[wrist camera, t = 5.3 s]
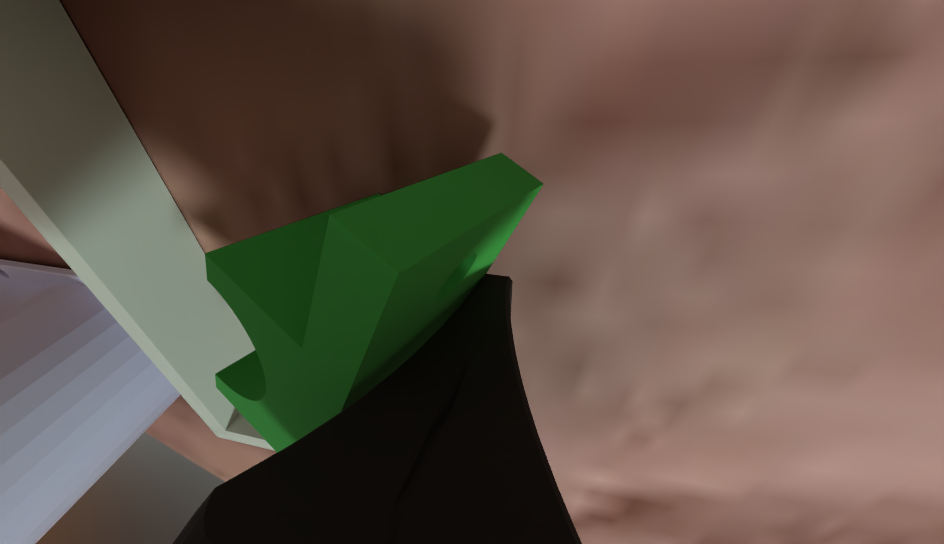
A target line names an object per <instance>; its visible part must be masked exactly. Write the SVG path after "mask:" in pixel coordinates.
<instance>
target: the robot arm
mask: <svg viewBox="0 0 944 544" xmlns="http://www.w3.org/2000/svg"><path fill="white" fill-rule="evenodd" d="M511 299H512V280H511V279H510V277H507V276H499V275H491V274H485V275H484V277H483V278H482V279H481V280H480V281H479V282H478V284H477V285H476V286H475V288H474V289H473V290H472V292H471V293H470V294H469V295H468V297H467V298H466V299H465V300H464V302H463V303H462V304H461V305H460V306H459V308H458V309H457V310H456V311H455V312H454V313H453V314H452V315H451V316H450V318H449V319H448V320H447V321H446V322H445V323H444V324H443V325H442V326H441V327H440V329H439V330H438V331H437V332H436V333H435V334H434V335H433V336H432V337H431V338H430V339H429V340H428V341H427V342H426V343H425V344H424V345H422V346H421V347H420V348H419V349H418V350H417V351H416V352H415V353H414V354H413V355H412V356H411V357H410V358H409V359H408V360H407V361H405V362H404V363H403V364H402V365H401V366H400V367H399V368H397V369H396V370H395V371H394V372H393V373H391V374H390V375H389V376H388V377H387V378H385V379H384V380H383V381H382V382H380V383H379V384H378V385H377V386H375V387H374V388H373V389H371V390H370V391H369V392H367V393H366V394H365V395H363V396H362V397H361V398H360V399H358V400H357V401H356V402H354V403H353V404H351V405H350V406H349V407H347V408H346V409H344V410H343V411H342V412H340V413H339V414H337V415H336V416H334V417H333V418H331V419H330V420H328V421H326V422H325V423H323V424H322V425H320V426H319V427H317V428H316V429H314V430H313V431H311V432H310V433H308V434H307V435H305V436H304V437H302V438H301V439H299V440H297V441H296V442H294V443H293V444H291V445H289V446H288V447H286V448H284V449H283V450H281V451H279V452H278V453H276V454H274V455H272V456H271V457H269V458H267V459H265V460H264V461H262V462H260V463H258V464H257V465H255V466H253V467H251V468H250V469H248V470H246V471H244V472H243V473H241V474H239V475H237V476H236V477H234V478H232V479H230V480H228V481H227V482H225V483H223V484H221V485H219V486H217V487H216V488H215V489H214V490H213V491H212V492H211V494H210V495H209V496H208V497H207V499H206V500H205V501H204V502H203V503H202V505H201V506H200V507H199V508H198V510H197V511H196V512H195V514H194V515H193V516H192V518H191V519H190V520H189V522H188V523H187V525H186V526H185V527H184V529H183V530H182V531H181V533H180V534H179V536H178V537H177V538H176V540H175V541H174V543H173V544H582V543H581V541H580V538H579V536H578V534H577V532H576V529H575V527H574V525H573V523H572V520H571V518H570V515H569V513H568V511H567V508H566V506H565V503H564V501H563V499H562V496H561V494H560V491H559V489H558V487H557V484H556V481H555V479H554V476H553V473H552V471H551V468H550V465H549V463H548V460H547V457H546V455H545V452H544V449H543V446H542V444H541V441H540V438H539V436H538V433H537V430H536V426H535V423H534V420H533V417H532V414H531V411H530V408H529V404H528V401H527V397H526V394H525V390H524V386H523V383H522V379H521V375H520V370H519V366H518V361H517V357H516V352H515V346H514V340H513V334H512V327H511ZM180 395H181V394H180V393H179V392H178V391H177V390H176V388H175V387H174V386H173V385H172V384H171V383H170V382H169V380H168V379H167V378H166V377H165V376H164V375H163V373H162V372H161V371H160V370H159V369H158V368H157V367H156V365H155V364H154V363H153V362H152V361H151V360H150V359H149V357H148V356H147V355H146V354H145V353H144V352H143V350H142V349H141V348H140V347H139V346H138V345H137V344H136V342H135V341H134V340H133V339H132V338H131V337H130V336H129V334H128V333H127V332H126V331H125V330H124V329H123V327H122V326H121V325H120V324H119V323H118V322H117V321H116V319H115V318H114V317H113V316H112V315H111V314H110V312H109V311H108V310H107V309H106V308H105V307H104V306H103V304H102V303H101V302H100V301H99V300H98V299H97V298H96V296H95V295H94V294H93V293H92V292H91V291H90V289H89V288H88V287H87V286H86V285H85V284H84V283H83V281H82V280H81V279H80V278H79V277H78V276H77V275H76V273H75V272H74V271H73V270H71V269H64V268H57V267H50V266H44V265H37V264H30V263H23V262H16V261H9V260H2V259H0V544H36V542H37V541H38V540H39V539H40V538H41V537H42V536H43V535H44V534H45V533H46V532H47V531H48V530H49V529H50V528H51V527H52V526H53V525H54V524H55V523H56V522H57V521H58V520H59V519H60V518H61V517H62V516H63V515H64V514H65V513H66V512H67V511H68V510H69V509H70V508H71V507H72V506H73V505H74V503H76V501H77V500H78V499H79V498H80V497H81V496H82V495H83V494H84V493H85V492H86V491H87V490H88V489H89V488H90V487H91V486H92V485H93V484H94V483H95V482H96V481H97V480H98V479H99V478H100V477H101V476H102V475H103V474H104V473H105V472H106V470H108V469H109V468H110V466H111V465H113V464H114V462H115V461H116V460H117V459H118V458H119V457H120V456H121V455H122V454H123V453H124V452H125V451H126V450H127V449H128V448H129V447H130V446H131V445H132V444H133V443H134V442H135V441H136V440H137V439H138V438H139V437H140V436H141V435H142V434H143V433H144V432H145V431H146V430H147V429H148V428H149V427H150V426H151V425H152V424H153V423H154V421H155V420H156V419H157V418H158V417H159V416H160V415H161V414H162V413H163V412H164V411H165V410H166V409H167V408H168V407H169V406H170V405H171V404H172V403H173V402H174V401H175V400H176V399H177V398H178V397H179V396H180Z"/></svg>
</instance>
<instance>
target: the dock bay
mask: <svg viewBox="0 0 944 544" xmlns="http://www.w3.org/2000/svg"><path fill="white" fill-rule="evenodd" d="M0 187H1V188H2V189H3V190H4V192H5V193H6V194H7V195H8V196H9V197H10V199H11V200H12V201H13V202H14V203H15V204H16V205H17V207H18V208H19V209H20V210H21V211H22V212H23V214H24V215H25V216H26V217H27V218H28V219H29V220H30V222H31V223H32V224H33V225H34V226H35V227H36V228H37V230H38V231H39V232H40V233H41V234H42V235H43V237H44V238H45V239H46V240H47V241H48V242H49V243H50V245H51V246H52V247H53V248H54V249H55V250H56V251H57V253H58V254H59V255H60V256H61V257H62V258H63V260H64V261H65V262H66V263H67V264H68V265H69V266H70V268H71V269H72V270H73V271H74V272H75V273H76V275H77V276H78V277H79V278H80V279H81V280H82V281H83V283H84V284H85V285H86V286H87V287H88V288H89V289H90V291H91V292H92V293H93V294H94V295H95V296H96V298H97V299H98V300H99V301H100V302H101V303H102V304H103V306H104V307H105V308H106V309H107V310H108V311H109V312H110V314H111V315H112V316H113V317H114V318H115V319H116V321H117V322H118V323H119V324H120V325H121V326H122V327H123V329H124V330H125V331H126V332H127V333H128V334H129V336H130V337H131V338H132V339H133V340H134V341H135V342H136V344H137V345H138V346H139V347H140V348H141V349H142V350H143V352H144V353H145V354H146V355H147V356H148V357H149V359H150V360H151V361H152V362H153V363H154V364H155V365H156V367H157V368H158V369H159V370H160V371H161V372H162V373H163V375H164V376H165V377H166V378H167V379H168V380H169V382H170V383H171V384H172V385H173V386H174V387H175V388H176V390H177V391H178V392H179V393H180V394H181V395H182V397H183V398H184V399H185V400H186V401H187V402H188V403H189V405H190V406H191V407H192V408H193V409H194V410H195V411H196V413H197V414H198V415H199V416H200V417H201V418H202V420H203V421H204V422H205V423H206V424H207V425H208V426H209V428H210V429H211V430H212V431H213V432H214V433H215V435H216V436H217V437H220V438H224V439H228V440H233V441H237V442H241V443H245V444H249V445H254V446H258V447H262V448H266V449H270V450H274V449H273V448H272V447H271V446H270V445H269V444H268V442H267V441H266V440H265V439H264V438H263V437H262V436H261V435H260V434H259V433H258V432H257V431H256V430H255V428H254V427H253V426H252V425H251V424H250V423H249V422H248V421H247V420H246V419H245V418H244V417H243V416H242V415H241V413H240V412H239V411H238V410H237V409H236V408H235V407H234V406H233V405H232V404H231V403H230V402H229V401H228V399H227V398H226V397H225V396H224V395H223V394H222V393H221V392H220V391H219V390H218V389H217V388H216V380H215V374H216V373H217V372H219V371H221V370H222V369H224V368H226V367H227V366H229V365H231V364H233V363H234V362H236V361H238V360H239V359H241V358H243V357H244V356H246V355H248V354H249V353H251V352H253V351H254V350H255V348H254V346H253V344H252V342H251V340H250V338H249V336H248V334H247V333H246V331H245V329H244V328H243V326H242V324H241V323H240V321H239V320H238V318H237V317H236V315H235V314H234V312H233V311H232V309H231V308H230V307H229V305H228V304H227V303H226V301H225V300H224V299H223V298H222V296H221V295H220V294H219V293H218V292H217V290H216V289H215V288H214V287H213V286H212V285H211V284H210V283H209V282H208V281H207V273H206V261H205V254H204V252H203V250H202V248H201V247H200V245H199V243H198V241H197V240H196V238H195V236H194V234H193V233H192V231H191V229H190V227H189V226H188V224H187V222H186V221H185V219H184V217H183V215H182V214H181V212H180V210H179V208H178V207H177V205H176V203H175V201H174V200H173V198H172V196H171V194H170V193H169V191H168V189H167V187H166V186H165V184H164V182H163V180H162V179H161V177H160V175H159V173H158V172H157V170H156V168H155V167H154V165H153V163H152V161H151V160H150V158H149V156H148V154H147V153H146V151H145V149H144V147H143V146H142V144H141V142H140V140H139V139H138V137H137V135H136V133H135V132H134V130H133V128H132V126H131V125H130V123H129V121H128V119H127V118H126V116H125V114H124V113H123V111H122V109H121V107H120V106H119V104H118V102H117V100H116V99H115V97H114V95H113V93H112V92H111V90H110V88H109V86H108V85H107V83H106V81H105V79H104V78H103V76H102V74H101V72H100V71H99V69H98V67H97V66H96V64H95V62H94V60H93V59H92V57H91V55H90V53H89V52H88V50H87V48H86V46H85V45H84V43H83V41H82V39H81V38H80V36H79V34H78V32H77V31H76V29H75V27H74V25H73V24H72V22H71V20H70V18H69V17H68V15H67V13H66V12H65V10H64V8H63V6H62V5H61V3H60V1H59V0H0Z"/></svg>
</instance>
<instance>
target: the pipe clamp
mask: <svg viewBox="0 0 944 544" xmlns="http://www.w3.org/2000/svg"><path fill="white" fill-rule="evenodd" d="M542 186H543V183H542V182H541V181H539V180H538V179H536V178H535V177H534V176H532V175H531V174H530V173H528V172H527V171H526V170H524V169H523V168H521V167H520V166H519V165H517V164H516V163H515V162H513V161H512V160H511V159H509V158H508V157H507V156H505V155H504V154H502V153H499V154H496V155H494V156H491V157H488V158H485V159H482V160H480V161H477V162H474V163H471V164H468V165H466V166H463V167H460V168H457V169H454V170H452V171H449V172H446V173H443V174H440V175H438V176H435V177H432V178H429V179H426V180H424V181H421V182H418V183H415V184H412V185H410V186H407V187H404V188H401V189H398V190H396V191H393V192H390V193H387V194H384V195H382V196H381V195H380V194H379V193H378V194H375V195H372V196H369V197H366V198H363V199H360V200H358V201H355V202H352V203H349V204H346V205H343V206H340V207H337V208H334V209H332V210H329V211H326V212H323V213H320V214H317V215H314V216H311V217H309V218H306V219H303V220H300V221H297V222H294V223H291V224H288V225H286V226H283V227H280V228H277V229H274V230H271V231H268V232H265V233H263V234H260V235H257V236H254V237H251V238H248V239H245V240H242V241H239V242H237V243H234V244H231V245H228V246H225V247H222V248H219V249H216V250H214V251H211V252H208V253H205V261H206V273H207V281H208V282H209V283H210V284H211V285H212V286H213V287H214V288H215V289H216V290H217V292H218V293H219V294H220V295H221V296H222V298H223V299H224V300H225V301H226V303H227V304H228V305H229V307H230V308H231V309H232V311H233V312H234V314H235V315H236V317H237V318H238V320H239V321H240V323H241V324H242V326H243V328H244V329H245V331H246V333H247V334H248V336H249V338H250V340H251V342H252V344H253V346H254V348H255V350H254V351H253V352H251V353H249V354H248V355H246V356H244V357H243V358H241V359H239V360H238V361H236V362H234V363H233V364H231V365H229V366H227V367H226V368H224V369H222V370H221V371H219V372H217V373H216V374H215V380H216V388H217V389H218V390H219V391H220V392H221V393H222V394H223V395H224V396H225V397H226V398H227V399H228V401H229V402H230V403H231V404H232V405H233V406H234V407H235V408H236V409H237V410H238V411H239V412H240V413H241V415H242V416H243V417H244V418H245V419H246V420H247V421H248V422H249V423H250V424H251V425H252V426H253V427H254V428H255V430H256V431H257V432H258V433H259V434H260V435H261V436H262V437H263V438H264V439H265V440H266V441H267V442H268V444H269V445H270V446H271V447H272V448H273V449H274V450H275V451H276V452H277V453H278V452H279V451H281V450H283V449H284V448H286V447H288V446H289V445H291V444H293V443H294V442H296V441H297V440H299V439H301V438H302V437H304V436H305V435H307V434H308V433H310V432H311V431H313V430H314V429H316V428H317V427H319V426H320V425H322V424H323V423H325V422H326V421H328V420H330V419H331V418H333V417H334V416H336V415H337V414H339V413H340V412H342V411H343V410H344V409H346V408H347V407H349V406H350V405H351V404H353V403H354V402H356V401H357V400H358V399H360V398H361V397H362V396H363V395H365V394H366V393H367V392H369V391H370V390H371V389H373V388H374V387H375V386H377V385H378V384H379V383H380V382H382V381H383V380H384V379H385V378H387V377H388V376H389V375H390V374H391V373H393V372H394V371H395V370H396V369H397V368H399V367H400V366H401V365H402V364H403V363H404V362H405V361H407V360H408V359H409V358H410V357H411V356H412V355H413V354H414V353H415V352H416V351H417V350H418V349H419V348H420V347H421V346H422V345H424V344H425V343H426V342H427V341H428V340H429V339H430V338H431V337H432V336H433V335H434V334H435V333H436V332H437V331H438V330H439V329H440V327H441V326H442V325H443V324H444V323H445V322H446V321H447V320H448V319H449V318H450V316H451V315H452V314H453V313H454V312H455V311H456V310H457V309H458V308H459V306H460V305H461V304H462V303H463V302H464V300H465V299H466V298H467V297H468V295H469V294H470V293H471V292H472V290H473V289H474V288H475V286H476V285H477V284H478V282H479V281H480V280H481V279H482V278H483V277H484V275H485V274H486V273H487V271H488V270H489V268H490V266H491V265H492V263H493V262H494V260H495V259H496V257H497V256H498V254H499V252H500V251H501V249H502V248H503V246H504V245H505V243H506V242H507V240H508V238H509V237H510V235H511V234H512V232H513V231H514V229H515V228H516V226H517V224H518V223H519V221H520V220H521V218H522V217H523V215H524V214H525V212H526V210H527V209H528V207H529V206H530V204H531V203H532V201H533V200H534V198H535V196H536V195H537V193H538V192H539V190H540V189H541V187H542Z"/></svg>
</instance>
